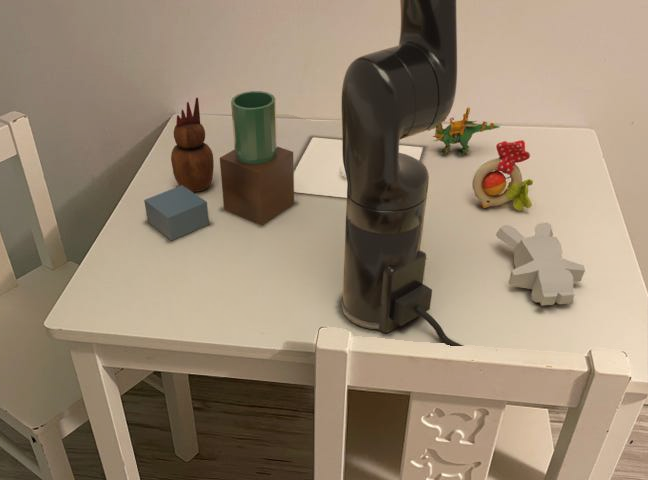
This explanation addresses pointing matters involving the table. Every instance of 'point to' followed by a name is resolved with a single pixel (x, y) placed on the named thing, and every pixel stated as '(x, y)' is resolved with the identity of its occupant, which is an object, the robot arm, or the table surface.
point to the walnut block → (258, 186)
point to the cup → (254, 127)
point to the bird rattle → (503, 178)
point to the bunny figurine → (541, 265)
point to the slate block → (176, 212)
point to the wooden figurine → (191, 152)
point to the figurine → (460, 132)
